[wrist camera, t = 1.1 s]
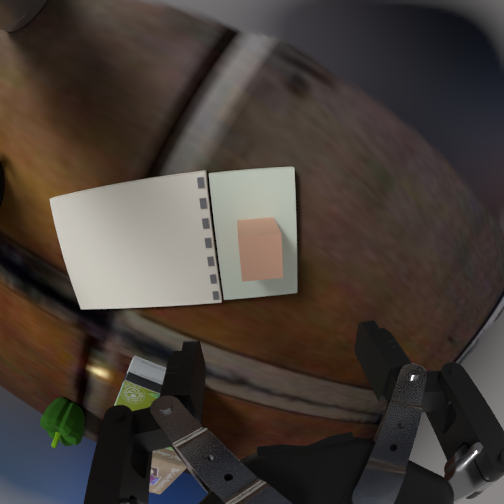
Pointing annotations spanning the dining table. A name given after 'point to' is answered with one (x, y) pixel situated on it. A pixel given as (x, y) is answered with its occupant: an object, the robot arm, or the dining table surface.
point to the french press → (1, 184)
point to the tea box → (141, 396)
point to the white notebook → (140, 243)
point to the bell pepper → (63, 422)
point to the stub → (255, 231)
